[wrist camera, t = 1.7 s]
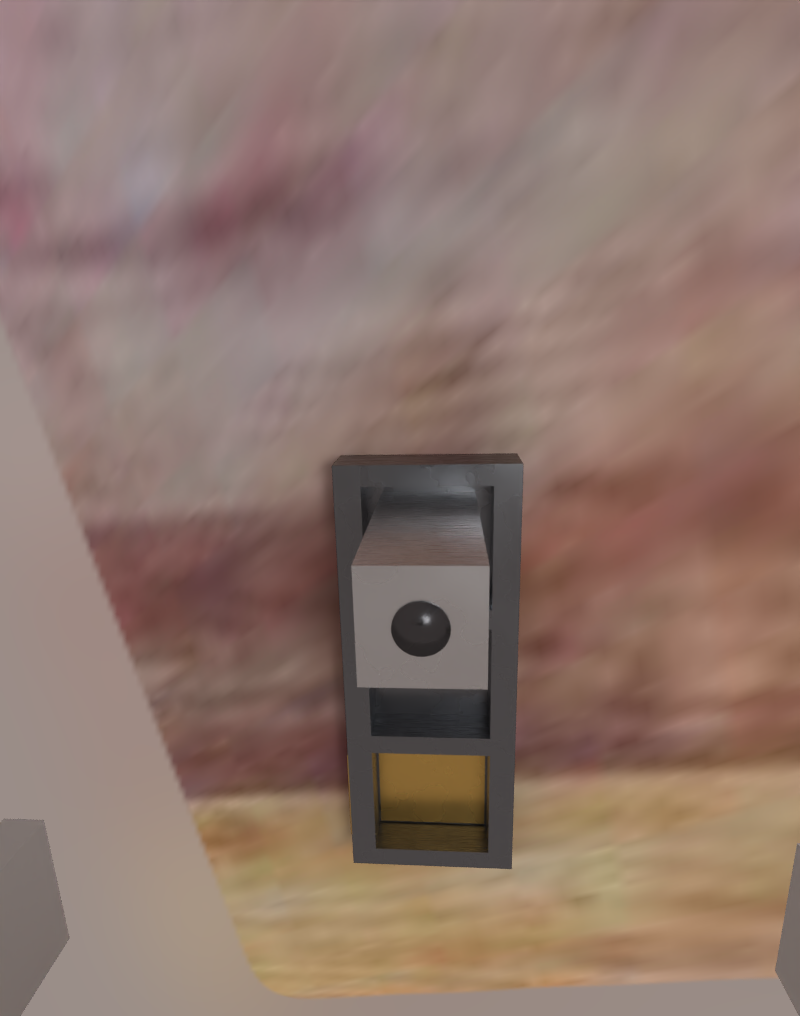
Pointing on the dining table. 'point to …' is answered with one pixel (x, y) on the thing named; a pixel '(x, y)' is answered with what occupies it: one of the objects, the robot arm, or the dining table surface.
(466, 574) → the grey block with knob
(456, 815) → the grey compartment tray
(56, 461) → the dining table surface
